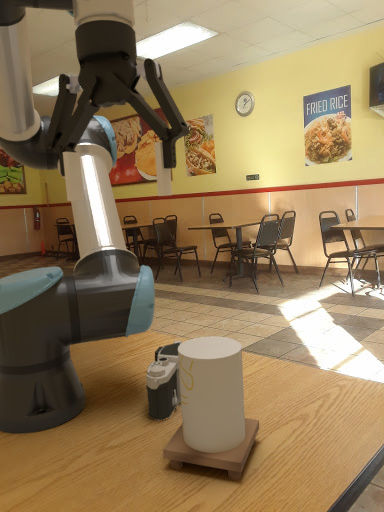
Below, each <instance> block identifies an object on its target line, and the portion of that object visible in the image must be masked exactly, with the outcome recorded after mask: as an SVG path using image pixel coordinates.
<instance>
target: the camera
mask: <svg viewBox="0 0 384 512" xmlns="http://www.w3.org/2000/svg"><path fill="white" fill-rule="evenodd" d="M183 342H184V341H182V340H174V341H173V342H172V343H170V344H166V345H163V346H159V347H158V348H156V350H155V351H154V361H151V362H150V364H149V365H148V367H147V369H146V375H145V378H146V386H145V388H146V390H147V391H146V393H147V407H148V413H147V415H148V416H149V418H151V420H153V419H155V420H154V421H160V420H163V421H165V420H164V419H166V418H169V419H170V418H171V417H172V415H173V414H174V412H175V411H176V409H177V407H178V405H181V392H180V376H179V360H178V347H179V345H180V344H182V343H183ZM179 403H180V404H179ZM176 406H177V407H176ZM175 408H176V409H175ZM173 411H174V412H173ZM172 413H173V414H172ZM171 414H172V415H171ZM170 416H171V417H170ZM166 420H167V419H166Z"/></svg>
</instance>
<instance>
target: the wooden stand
mask: <svg viewBox="0 0 384 512" xmlns="http://www.w3.org/2000/svg"><path fill="white" fill-rule="evenodd" d="M259 430H260V420H259V419H256V418H255V419H254V418H247V417H245V439H244V441H243V442H242V443H241V444H240V445H239V446H237V447H236V448H234V449H231V450H229V451H225V452H218V453H208V452H202V451H198V450H195V449H193V448H191V447H190V446H188V445H187V444H186V443H185V441H184V438H183V424H182V423H181V424H180V426H179V428H177V430H176V431H175V433H174V434H173V435H172V437H171V438H170V439H169V441H168V442H167V444H166V445H165V446H164V447H163V449H162V452H163V453H162V454H163V459H166V460H170V462H169V463H170V468H171V469H173V470H180V469H182V468H183V466H184V463H187V464H194V465H198V466H204V467H208V468H209V467H211V468H215V469H222V470H227V478H228V479H230V480H231V481H239V480H241V479H242V472H243V470H244V467H245V466H246V465H245V464H246V462H247V459H248V458H249V454H250V452H251V450H252V447H254V446H256V437H257V435H258V432H259Z"/></svg>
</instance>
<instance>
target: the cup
mask: <svg viewBox="0 0 384 512" xmlns="http://www.w3.org/2000/svg"><path fill="white" fill-rule="evenodd" d="M182 342H183V343H182V344H180V345H179V347H178V360H179V376H180V392H181V404H180V406H181V407H180V408H181V420H182V421H181V422H182V423H181V424H183V438H184V441H185V443H186V444H187V445H188V446H190V447H191V448H193V449H195V450H198V451H202V452H208V453H218V452H225V451H229V450H231V449H234V448H236V447H237V446H239V445H240V444H241V443H242V442H243V441H244V439H245V418H246V417H245V414H246V413H245V397H244V396H245V393H244V392H245V391H244V390H245V389H244V370H243V369H244V366H243V365H244V364H243V348H242V346H243V345H242V343H241V342H240V341H239V340H236V339H234V338H231V337H227V336H226V337H225V336H215V335H214V336H213V335H211V336H200V337H196V338H195V337H194V338H190V339H188V340H186V341H182Z"/></svg>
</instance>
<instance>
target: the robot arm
mask: <svg viewBox="0 0 384 512" xmlns="http://www.w3.org/2000/svg"><path fill="white" fill-rule="evenodd" d="M26 8H28V9H29V8H30V9H41V10H54V11H66V12H67V14H69V15H70V16H71V17H73V23H74V25H75V27H76V28H75V31H74V38H75V39H74V40H75V50H76V58H77V62H78V63H79V73H78V75H68V74H66V73H60V74H59V75H58V93H57V96H56V100H55V104H54V108H53V112H52V114H51V115H50V114H49V115H48V114H45V115H42V114H41V115H40V114H39V112H38V111H37V110H36V109H35V104H34V103H35V102H34V101H35V100H34V89H33V78H32V67H31V65H32V64H31V55H30V53H31V51H30V42H29V41H30V40H29V31H28V30H29V29H28V28H29V27H28V16H27V9H26ZM135 23H136V22H135V9H134V0H0V148H1V149H2V151H3V152H5V153H6V155H8V156H9V157H10V158H11V159H13V160H14V161H16V162H17V163H19V164H20V165H23V166H25V167H27V168H29V169H33V170H38V171H39V170H40V171H47V170H50V171H51V170H53V171H54V170H55V171H56V170H57V171H58V172H59V174H60V176H61V177H62V179H64V180H65V190H66V191H65V192H66V199H67V200H66V201H67V202H70V203H71V209H72V215H73V220H74V221H73V222H74V228H75V234H76V239H77V246H78V252H79V257H80V258H79V259H78V260H77V262H76V264H75V265H74V267H73V273H71V274H70V273H69V274H64V271H63V270H62V268H61V267H59V266H54V265H53V266H47V267H39V268H38V267H37V268H33V269H28V270H24V271H20V272H17V273H13V274H9V275H7V276H4V277H2V278H0V432H2V433H7V434H12V435H13V434H16V435H18V434H21V435H22V434H30V433H32V434H33V433H37V432H42V431H46V430H49V429H52V428H54V427H55V428H56V427H58V426H60V425H62V424H65V423H67V422H68V421H71V420H72V419H74V418H75V417H76V416H78V415H79V414H80V413H81V412H82V411H83V410H84V409H85V407H86V404H87V403H86V391H85V386H84V385H83V383H82V382H81V381H80V377H79V376H78V372H77V371H76V367H75V366H74V363H73V361H72V358H71V349H70V346H72V345H73V346H74V345H79V344H84V343H90V342H91V343H92V342H98V341H103V340H111V339H118V338H124V337H125V338H128V337H129V336H135V335H137V334H138V335H139V334H143V333H146V332H148V331H149V329H150V328H151V326H152V324H153V322H154V316H155V315H154V314H155V306H156V305H155V303H156V302H155V299H156V294H155V293H156V292H155V291H156V289H155V280H154V279H155V278H154V274H153V270H152V268H151V267H150V266H149V265H144V264H142V265H139V260H138V257H137V256H136V254H135V253H134V252H132V251H131V250H128V249H127V246H126V241H125V238H124V233H123V230H122V225H121V221H120V220H121V219H120V216H119V213H118V207H117V204H116V199H115V197H114V192H113V187H112V184H111V179H110V176H109V174H110V172H111V171H112V168H114V167H115V166H116V164H117V161H118V145H117V141H116V135H115V134H116V133H115V131H114V128H113V125H112V124H111V122H110V120H108V118H106V117H105V116H103V115H96V113H98V112H99V111H100V109H101V107H102V108H111V107H113V106H126V104H129V106H131V108H132V109H133V110H134V111H135V112H136V113H137V114H138V115H139V117H140V118H141V119H142V120H143V121H144V122H145V123H146V124H147V126H148V127H149V128H150V129H151V130H152V131H153V132H154V134H155V135H156V136H157V137H158V140H159V141H160V142H159V141H158V142H154V155H155V170H156V171H155V172H156V186H157V196H158V197H165V196H166V197H168V196H172V195H173V188H172V175H171V174H172V173H171V172H172V171H171V169H176V168H177V149H176V148H177V147H176V143H177V141H178V140H179V139H181V138H183V137H187V136H188V135H189V133H190V128H189V126H188V124H187V122H186V120H185V119H184V117H183V115H182V113H181V111H180V110H179V108H178V105H177V103H176V102H175V100H174V97H173V96H172V94H171V93H170V92H171V91H169V89H168V87H167V85H166V83H165V81H164V75H163V71H162V67H161V66H162V65H161V64H160V63H158V62H157V61H155V60H154V59H151V58H150V57H148V58H145V60H144V61H143V63H141V64H138V63H137V57H138V51H137V38H136V37H137V36H136V31H135V30H134V26H135ZM141 77H142V79H143V81H146V83H147V84H148V87H149V89H150V90H151V92H152V94H153V96H154V98H155V100H156V102H157V104H158V105H159V108H160V109H161V111H162V113H163V115H164V116H165V118H166V120H167V122H168V124H169V126H170V127H169V126H168V124H166V122H165V121H164V120H163V118H162V117H161V116H159V115H158V113H157V112H156V111H155V110H154V109H153V107H151V106H150V105H149V103H148V102H147V101H146V99H145V98H144V96H143V95H142V94H141V93H140V92H139V91H138V89H137V88H136V87H137V85H138V83H139V81H140V79H141ZM81 89H82V91H81ZM80 92H81V94H80V96H79V97H78V93H80ZM76 103H77V106H76ZM75 106H76V108H75Z"/></svg>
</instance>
